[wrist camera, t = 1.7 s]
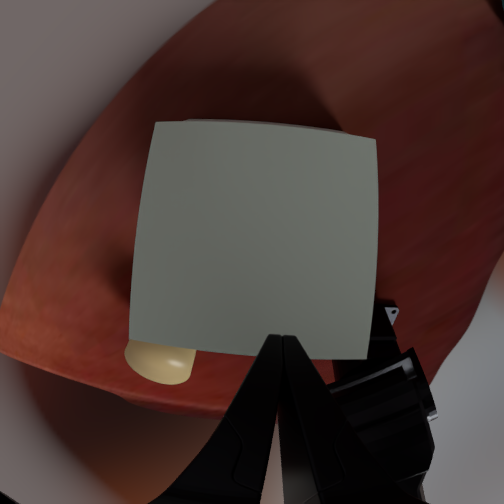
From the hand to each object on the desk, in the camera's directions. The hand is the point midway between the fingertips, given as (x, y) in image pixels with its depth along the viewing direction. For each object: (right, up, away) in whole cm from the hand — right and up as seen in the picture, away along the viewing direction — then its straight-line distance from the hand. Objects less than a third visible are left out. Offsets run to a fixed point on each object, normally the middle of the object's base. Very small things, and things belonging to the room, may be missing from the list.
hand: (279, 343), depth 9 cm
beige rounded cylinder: (-8, -3, +17) cm, 19 cm away
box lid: (-1, +4, +4) cm, 6 cm away
